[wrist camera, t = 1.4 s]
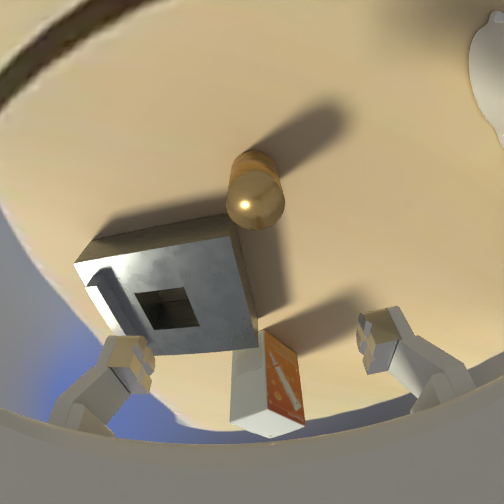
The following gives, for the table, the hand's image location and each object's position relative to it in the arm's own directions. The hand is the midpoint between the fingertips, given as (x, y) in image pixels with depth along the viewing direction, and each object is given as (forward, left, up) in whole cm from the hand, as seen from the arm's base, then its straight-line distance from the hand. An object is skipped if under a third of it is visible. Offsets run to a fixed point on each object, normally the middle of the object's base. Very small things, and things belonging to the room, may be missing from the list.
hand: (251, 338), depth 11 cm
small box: (+3, +28, -22) cm, 35 cm away
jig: (+12, +13, -21) cm, 27 cm away
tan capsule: (0, +1, -21) cm, 21 cm away
